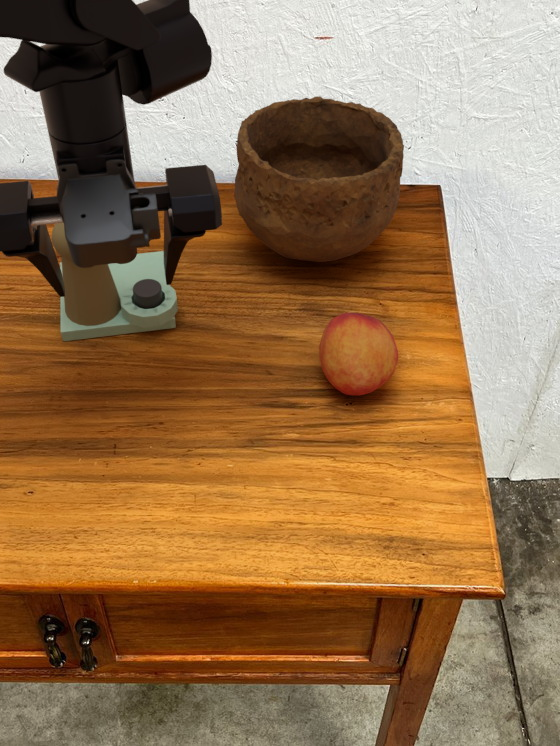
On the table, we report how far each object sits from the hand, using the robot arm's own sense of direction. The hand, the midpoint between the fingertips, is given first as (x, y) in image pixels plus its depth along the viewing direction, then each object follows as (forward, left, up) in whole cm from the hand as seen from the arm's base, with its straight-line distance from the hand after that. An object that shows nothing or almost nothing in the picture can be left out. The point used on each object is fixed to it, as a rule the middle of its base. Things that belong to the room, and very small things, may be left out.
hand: (116, 287), depth 68 cm
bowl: (+23, +20, -13) cm, 33 cm away
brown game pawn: (-3, +11, -12) cm, 17 cm away
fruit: (+22, -3, -13) cm, 26 cm away
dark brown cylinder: (+3, +10, -10) cm, 15 cm away
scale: (-1, +14, -13) cm, 19 cm away
